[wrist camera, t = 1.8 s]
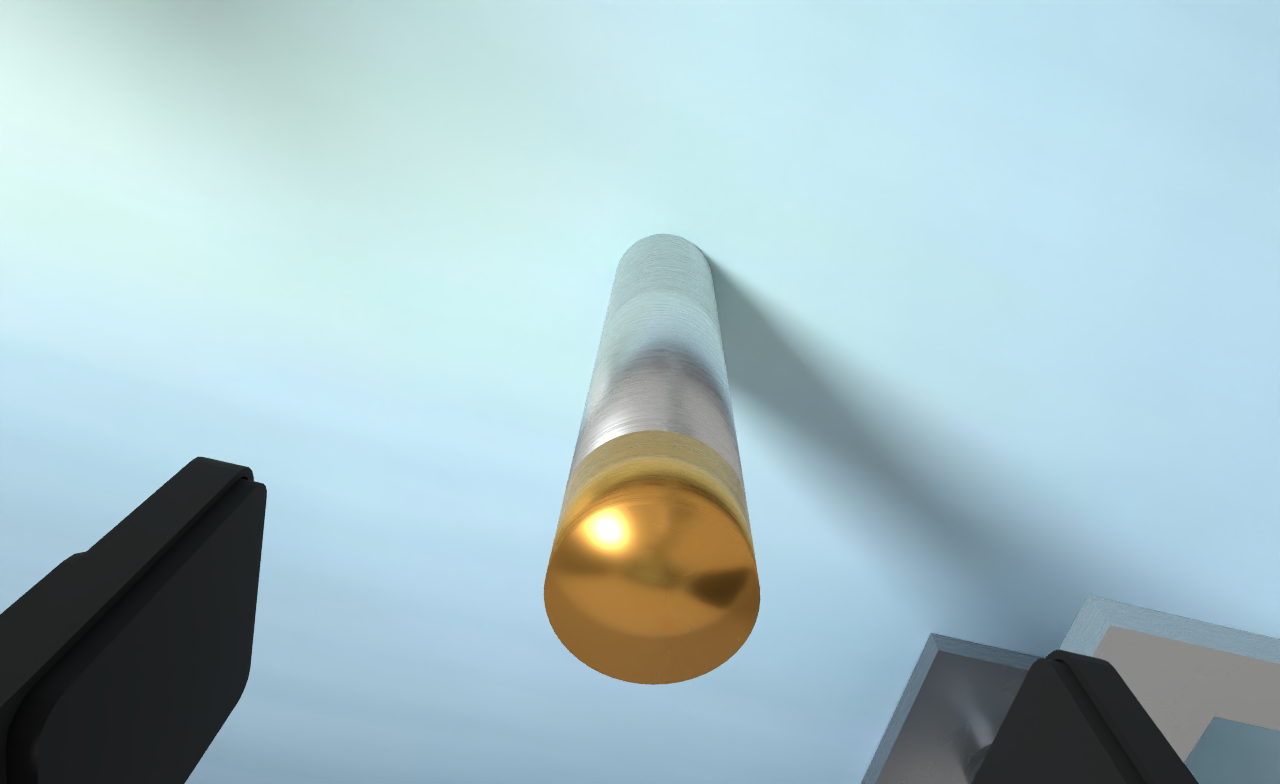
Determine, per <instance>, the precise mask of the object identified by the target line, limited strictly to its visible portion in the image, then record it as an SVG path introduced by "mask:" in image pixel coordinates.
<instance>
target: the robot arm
mask: <svg viewBox="0 0 1280 784" xmlns="http://www.w3.org/2000/svg"><path fill="white" fill-rule="evenodd" d="M266 498H267V490H266V486H265V485H264V484H263V483H259V482H254V477H253V473H252V470H251V469H250V468H249V467H245V466H241V465H236V464H232V463H227V462H223V461H218V460H214V459H210V458H205V457H197V458H195V459H193V460H192V461H191V462H189V463H188V464H187V465H186V466H185V467H184V468H182V469H181V470H180V471H179V472H178V473H177V474H176V475H174V476H173V477H172V478H171V479H170V480H169V481H167V482H166V483H165V484H164V485H163V486H162V487H160V488H159V489H158V490H157V491H156V492H155V493H154V494H152V495H151V496H150V497H149V498H148V499H147V500H145V501H144V502H143V503H142V504H141V505H140V506H139V507H137V508H136V509H135V510H134V511H133V512H132V513H130V514H129V515H128V516H127V517H126V518H125V519H124V520H122V521H121V522H120V523H119V524H118V525H117V526H115V527H114V528H113V529H112V530H111V531H110V532H108V533H107V534H106V535H105V536H104V537H103V538H102V539H100V540H99V541H98V542H97V543H96V544H95V545H93V546H92V547H91V548H90V549H89V550H88V551H87V552H82V553H76V554H74V555H72V556H71V557H69V558H68V559H66V560H64V561H63V562H62V563H61V564H59V565H58V566H57V567H56V568H55V569H53V570H52V571H51V572H50V573H49V574H48V575H46V576H45V577H44V578H43V579H42V580H40V581H39V582H38V583H37V584H36V585H35V586H33V587H32V588H31V589H30V590H29V591H28V592H26V593H25V594H24V595H23V596H22V597H20V598H19V599H18V600H17V601H16V602H15V603H13V604H12V605H11V606H10V607H9V608H7V609H6V610H5V611H4V612H3V613H2V614H0V784H184V783H185V782H186V780H187V779H188V777H189V776H190V774H191V773H192V771H193V770H194V768H195V767H196V765H197V764H198V762H199V761H200V759H201V758H202V756H203V754H204V753H205V751H206V750H207V748H208V747H209V745H210V744H211V742H212V741H213V739H214V738H215V736H216V735H217V733H218V732H219V730H220V729H221V727H222V726H223V724H224V722H225V721H226V719H227V718H228V716H229V715H230V713H231V712H232V710H233V709H234V707H235V706H236V704H237V703H238V701H239V699H240V697H241V695H242V693H243V691H244V689H245V686H246V683H247V680H248V676H249V672H250V666H251V655H252V645H253V634H254V624H255V613H256V603H257V592H258V582H259V571H260V561H261V550H262V540H263V529H264V519H265V508H266ZM972 784H1199V783H1198V782H1197V781H1196V779H1195V778H1194V776H1193V775H1192V774H1191V772H1190V771H1189V770H1188V768H1187V767H1186V765H1185V764H1184V763H1183V761H1182V760H1181V759H1180V757H1179V756H1178V754H1177V753H1176V752H1175V750H1174V749H1173V748H1172V746H1171V745H1170V743H1169V742H1168V741H1167V739H1166V738H1165V737H1164V735H1163V734H1162V732H1161V731H1160V730H1159V728H1158V727H1157V726H1156V724H1155V723H1154V722H1153V720H1152V719H1151V717H1150V716H1149V715H1148V713H1147V712H1146V711H1145V709H1144V708H1143V706H1142V705H1141V704H1140V702H1139V701H1138V700H1137V698H1136V697H1135V695H1134V694H1133V693H1132V691H1131V690H1130V689H1129V687H1128V686H1127V684H1126V683H1125V682H1124V680H1123V679H1122V678H1121V676H1120V675H1119V673H1118V672H1117V671H1116V669H1115V668H1114V667H1113V666H1112V665H1111V664H1110V663H1109V662H1108V661H1106V660H1103V659H1099V658H1095V657H1091V656H1086V655H1082V654H1077V653H1073V652H1068V651H1064V650H1056V651H1053V652H1052V653H1050V654H1049V655H1048V656H1047V657H1046V659H1045V658H1041V659H1038V660H1036V661H1035V662H1034V663H1033V664H1032V666H1031V667H1030V669H1029V671H1028V673H1027V675H1026V677H1025V679H1024V681H1023V683H1022V685H1021V687H1020V689H1019V691H1018V693H1017V695H1016V697H1015V699H1014V701H1013V703H1012V705H1011V707H1010V709H1009V711H1008V713H1007V715H1006V717H1005V719H1004V721H1003V723H1002V725H1001V727H1000V729H999V731H998V733H997V735H996V737H995V739H994V741H993V742H992V744H991V746H990V748H989V750H988V752H987V754H986V756H985V758H984V760H983V762H982V764H981V766H980V768H979V770H978V772H977V774H976V776H975V778H974V780H973V782H972Z"/></svg>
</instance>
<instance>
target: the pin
mask: <svg viewBox="0 0 1280 784" xmlns="http://www.w3.org/2000/svg"><path fill="white" fill-rule="evenodd" d="M544 601H545V607H546V612H547V615H548V618H549V621H550V624H551V626H552V628H553V630H554V632H555V633H556V635H557V636H558V638H559V639H560V641H561V642H562V643H563V645H564V646H565V647H566V648H567V649H568V650H569V651H570V652H571V653H572V654H573V655H574V656H575V657H577V658H578V659H579V660H580V661H582V662H583V663H585V664H586V665H587V666H589V667H591V668H592V669H594V670H596V671H598V672H600V673H602V674H605V675H607V676H610V677H612V678H615V679H619V680H623V681H626V682H632V683H639V684H653V685H654V684H670V683H676V682H682V681H685V680H689V679H693V678H696V677H698V676H701V675H703V674H706V673H708V672H710V671H712V670H713V669H715V668H717V667H719V666H720V665H721V664H723V663H724V662H726V661H727V660H728V659H729V658H731V657H732V656H733V655H734V654H735V653H736V652H737V651H738V650H739V649H740V648H741V646H742V645H743V644H744V643H745V641H746V640H747V638H748V637H749V635H750V633H751V631H752V629H753V627H754V625H755V623H756V619H757V616H758V612H759V605H760V587H759V580H758V574H757V567H756V561H755V554H754V548H753V541H752V535H751V528H750V521H749V515H748V508H747V502H746V495H745V489H744V482H743V476H742V469H741V463H740V456H739V450H738V443H737V437H736V430H735V423H734V417H733V410H732V404H731V397H730V391H729V384H728V378H727V371H726V365H725V358H724V352H723V345H722V339H721V332H720V326H719V319H718V312H717V306H716V299H715V293H714V286H713V280H712V274H711V269H710V266H709V263H708V261H707V259H706V257H705V256H704V254H703V253H702V252H701V251H700V249H699V248H698V247H696V246H695V245H694V244H693V243H691V242H690V241H688V240H686V239H684V238H682V237H679V236H676V235H670V234H657V235H652V236H649V237H646V238H643V239H641V240H639V241H638V242H636V243H635V244H633V245H632V246H631V247H630V248H629V249H628V250H627V251H626V252H625V253H624V255H623V257H622V258H621V260H620V262H619V264H618V267H617V270H616V275H615V279H614V283H613V288H612V292H611V296H610V301H609V305H608V309H607V314H606V318H605V322H604V327H603V331H602V335H601V340H600V344H599V348H598V353H597V357H596V361H595V366H594V370H593V374H592V379H591V383H590V387H589V392H588V396H587V400H586V405H585V409H584V413H583V418H582V422H581V426H580V430H579V435H578V439H577V443H576V448H575V452H574V456H573V461H572V465H571V469H570V474H569V478H568V482H567V487H566V491H565V495H564V500H563V504H562V508H561V513H560V517H559V521H558V526H557V530H556V534H555V539H554V543H553V547H552V552H551V556H550V560H549V565H548V569H547V573H546V579H545V585H544Z"/></svg>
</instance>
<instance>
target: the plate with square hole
mask: <svg viewBox="0 0 1280 784" xmlns="http://www.w3.org/2000/svg"><path fill="white" fill-rule="evenodd" d="M1059 650H1064V651H1068V652H1073V653H1077V654H1082V655H1086V656H1091V657H1095V658H1099V659H1103V660H1106V661H1108V662H1109V663H1110V664H1111V665H1112V666H1113V667H1114V668H1115V669H1116V671H1117V672H1118V673H1119V675H1120V676H1121V678H1122V679H1123V680H1124V682H1125V683H1126V684H1127V686H1128V687H1129V689H1130V690H1131V691H1132V693H1133V694H1134V695H1135V697H1136V698H1137V700H1138V701H1139V702H1140V704H1141V705H1142V706H1143V708H1144V709H1145V711H1146V712H1147V713H1148V715H1149V716H1150V717H1151V719H1152V720H1153V722H1154V723H1155V724H1156V726H1157V727H1158V728H1159V730H1160V731H1161V732H1162V734H1163V735H1164V737H1165V738H1166V739H1167V741H1168V742H1169V743H1170V745H1171V746H1172V748H1173V749H1174V750H1175V752H1176V753H1177V754H1178V756H1179V757H1180V759H1181V760H1182V761H1183V763H1184V762H1185V760H1186V759H1187V757H1188V756H1189V754H1190V753H1191V751H1192V750H1193V748H1194V747H1195V745H1196V744H1197V742H1198V740H1199V739H1200V737H1201V736H1202V734H1203V733H1204V731H1205V730H1206V728H1207V727H1208V725H1209V724H1210V722H1211V721H1212V719H1213V718H1214V717H1219V718H1223V719H1228V720H1232V721H1237V722H1241V723H1246V724H1250V725H1255V726H1259V727H1264V728H1268V729H1273V730H1277V731H1280V639H1276V638H1272V637H1268V636H1263V635H1259V634H1255V633H1250V632H1246V631H1242V630H1237V629H1233V628H1229V627H1224V626H1220V625H1216V624H1211V623H1207V622H1203V621H1198V620H1194V619H1190V618H1185V617H1181V616H1177V615H1172V614H1168V613H1164V612H1159V611H1155V610H1150V609H1146V608H1142V607H1137V606H1133V605H1129V604H1124V603H1120V602H1116V601H1111V600H1107V599H1103V598H1098V597H1094V596H1090V595H1088V596H1087V598H1086V600H1085V602H1084V604H1083V606H1082V607H1081V609H1080V611H1079V613H1078V615H1077V617H1076V619H1075V620H1074V622H1073V624H1072V626H1071V628H1070V630H1069V631H1068V633H1067V635H1066V637H1065V639H1064V641H1063V643H1062V644H1061V646H1060V648H1059ZM1038 659H1041V658H1039V657H1034V656H1030V655H1025V654H1021V653H1016V652H1012V651H1007V650H1003V649H999V648H994V647H990V646H985V645H981V644H976V643H972V642H967V641H963V640H959V639H954V638H950V637H945V636H941V635H936V634H932V633H931V635H930V637H929V639H928V641H927V644H926V646H925V648H924V650H923V652H922V654H921V657H920V659H919V661H918V663H917V665H916V667H915V669H914V672H913V674H912V676H911V678H910V680H909V682H908V685H907V687H906V689H905V691H904V693H903V695H902V697H901V700H900V702H899V704H898V706H897V708H896V710H895V713H894V715H893V717H892V719H891V721H890V723H889V725H888V728H887V730H886V732H885V734H884V736H883V738H882V741H881V743H880V745H879V747H878V749H877V751H876V753H875V756H874V758H873V760H872V762H871V764H870V766H869V769H868V771H867V773H866V775H865V777H864V779H863V781H862V784H972V782H973V780H974V778H975V776H976V774H977V772H978V770H979V768H980V766H981V764H982V762H983V760H984V758H985V756H986V754H987V752H988V750H989V748H990V746H991V744H992V742H993V741H994V739H995V737H996V735H997V733H998V731H999V729H1000V727H1001V725H1002V723H1003V721H1004V719H1005V717H1006V715H1007V713H1008V711H1009V709H1010V707H1011V705H1012V703H1013V701H1014V699H1015V697H1016V695H1017V693H1018V691H1019V689H1020V687H1021V685H1022V683H1023V681H1024V679H1025V677H1026V675H1027V673H1028V671H1029V669H1030V667H1031V666H1032V664H1033V663H1034V662H1035V661H1036V660H1038Z"/></svg>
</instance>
